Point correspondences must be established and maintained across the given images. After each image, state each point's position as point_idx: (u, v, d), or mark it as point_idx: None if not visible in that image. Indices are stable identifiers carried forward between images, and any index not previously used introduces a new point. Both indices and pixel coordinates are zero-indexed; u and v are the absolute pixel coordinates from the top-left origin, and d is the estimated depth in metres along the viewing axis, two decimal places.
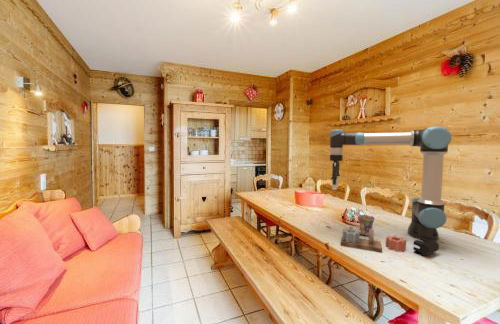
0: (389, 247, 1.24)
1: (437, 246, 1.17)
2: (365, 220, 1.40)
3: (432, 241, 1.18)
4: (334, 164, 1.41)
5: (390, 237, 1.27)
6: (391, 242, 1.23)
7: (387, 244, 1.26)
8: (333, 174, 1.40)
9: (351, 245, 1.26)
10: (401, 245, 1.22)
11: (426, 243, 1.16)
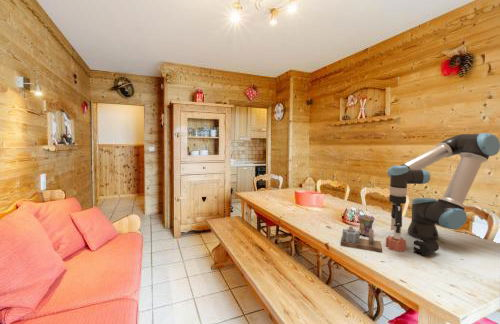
0: (389, 247, 1.24)
1: (437, 246, 1.17)
2: (365, 220, 1.40)
3: (432, 241, 1.18)
4: (398, 208, 1.18)
5: (390, 237, 1.27)
6: (391, 242, 1.23)
7: (387, 244, 1.26)
8: (397, 221, 1.16)
9: (351, 245, 1.26)
10: (401, 245, 1.22)
11: (426, 243, 1.16)
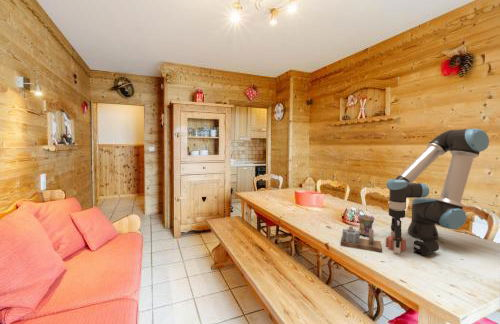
0: (389, 247, 1.24)
1: (437, 246, 1.17)
2: (365, 220, 1.40)
3: (432, 241, 1.18)
4: (397, 223, 1.18)
5: (390, 237, 1.27)
6: (391, 242, 1.23)
7: (387, 244, 1.26)
8: (397, 236, 1.17)
9: (351, 245, 1.26)
10: (401, 245, 1.22)
11: (426, 243, 1.16)
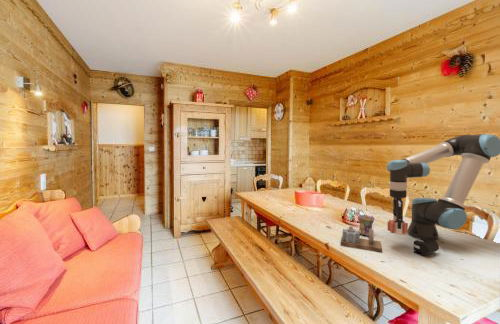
0: (391, 231, 1.23)
1: (437, 246, 1.17)
2: (365, 220, 1.40)
3: (432, 241, 1.18)
4: (399, 204, 1.18)
5: (392, 221, 1.26)
6: (393, 225, 1.23)
7: (389, 228, 1.26)
8: (398, 217, 1.17)
9: (351, 245, 1.26)
10: (403, 228, 1.21)
11: (426, 243, 1.16)
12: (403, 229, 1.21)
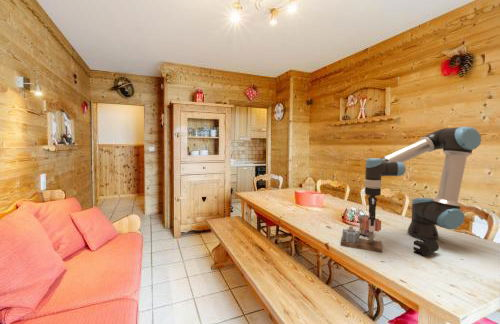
0: (364, 228, 1.25)
1: (437, 246, 1.17)
2: None
3: (432, 241, 1.18)
4: (372, 202, 1.19)
5: (366, 218, 1.28)
6: (366, 223, 1.24)
7: (363, 225, 1.27)
8: (371, 214, 1.19)
9: (351, 245, 1.26)
10: (376, 225, 1.22)
11: (426, 243, 1.16)
12: (376, 226, 1.22)
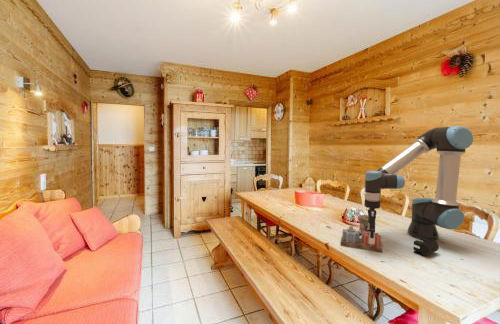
0: (364, 242, 1.25)
1: (437, 246, 1.17)
2: (365, 220, 1.40)
3: (432, 241, 1.18)
4: (372, 214, 1.19)
5: (366, 232, 1.28)
6: (366, 237, 1.25)
7: (363, 239, 1.28)
8: (371, 226, 1.18)
9: (351, 245, 1.26)
10: (375, 240, 1.23)
11: (426, 243, 1.16)
12: (376, 241, 1.23)
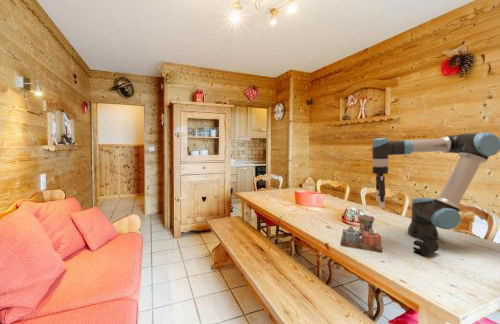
0: (364, 242, 1.25)
1: (437, 246, 1.17)
2: (365, 220, 1.40)
3: (432, 241, 1.18)
4: (381, 178, 1.22)
5: (366, 232, 1.28)
6: (366, 237, 1.25)
7: (363, 239, 1.28)
8: (381, 190, 1.21)
9: (351, 245, 1.26)
10: (375, 240, 1.23)
11: (426, 243, 1.16)
12: (376, 241, 1.23)
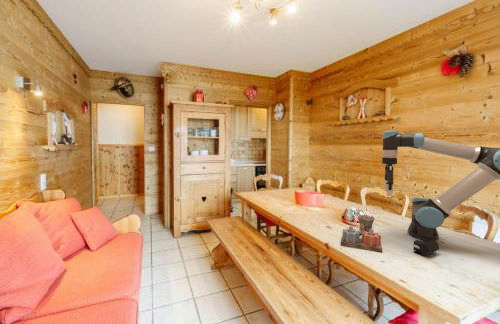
0: (364, 242, 1.25)
1: (437, 246, 1.17)
2: (365, 220, 1.40)
3: (432, 241, 1.18)
4: (390, 168, 1.30)
5: (366, 232, 1.28)
6: (366, 237, 1.25)
7: (363, 239, 1.28)
8: (389, 179, 1.28)
9: (351, 245, 1.26)
10: (375, 240, 1.23)
11: (426, 243, 1.16)
12: (376, 241, 1.23)
